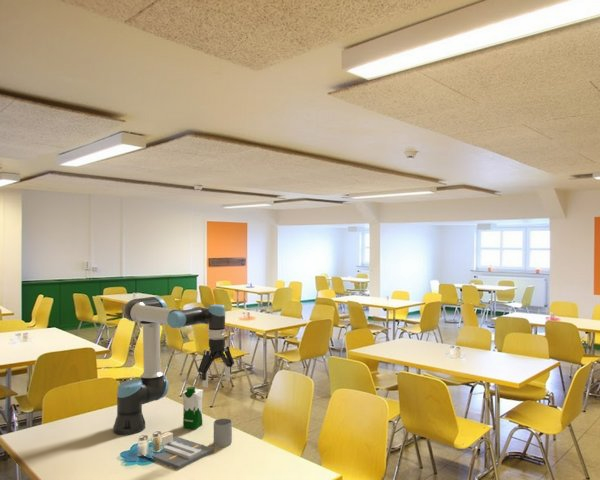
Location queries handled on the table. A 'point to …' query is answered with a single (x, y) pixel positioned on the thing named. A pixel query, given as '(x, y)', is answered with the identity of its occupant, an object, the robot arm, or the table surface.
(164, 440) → the fader
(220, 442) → the cup
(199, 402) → the milk carton
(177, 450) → the console
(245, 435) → the table surface
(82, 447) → the table surface
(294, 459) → the table surface
